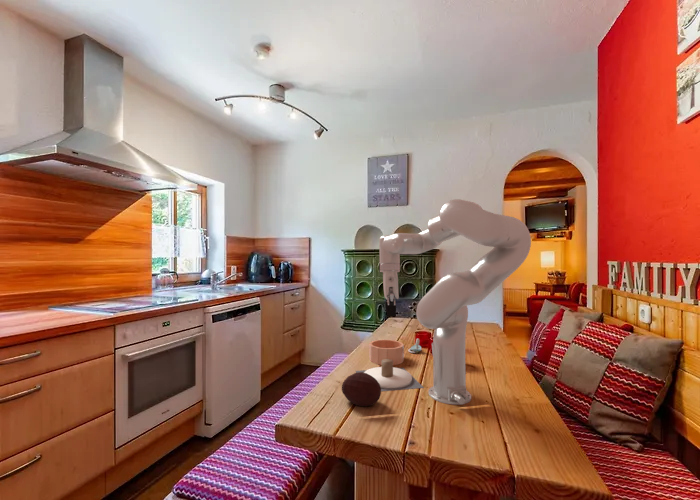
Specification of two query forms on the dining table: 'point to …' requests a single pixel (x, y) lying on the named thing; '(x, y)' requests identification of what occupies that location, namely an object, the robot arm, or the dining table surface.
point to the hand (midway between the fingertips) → (390, 314)
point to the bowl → (386, 351)
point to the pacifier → (415, 347)
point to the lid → (390, 375)
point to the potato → (361, 389)
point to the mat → (413, 385)
